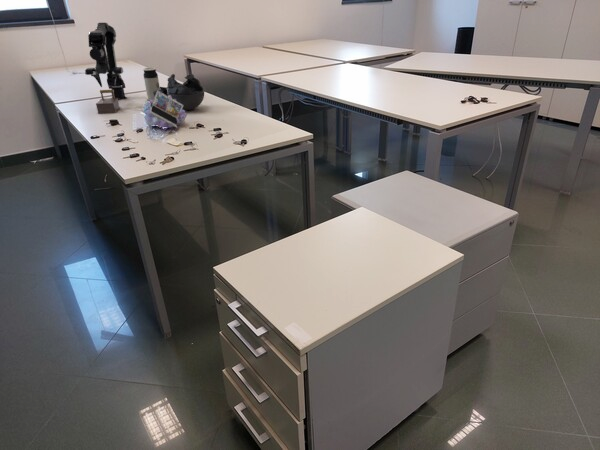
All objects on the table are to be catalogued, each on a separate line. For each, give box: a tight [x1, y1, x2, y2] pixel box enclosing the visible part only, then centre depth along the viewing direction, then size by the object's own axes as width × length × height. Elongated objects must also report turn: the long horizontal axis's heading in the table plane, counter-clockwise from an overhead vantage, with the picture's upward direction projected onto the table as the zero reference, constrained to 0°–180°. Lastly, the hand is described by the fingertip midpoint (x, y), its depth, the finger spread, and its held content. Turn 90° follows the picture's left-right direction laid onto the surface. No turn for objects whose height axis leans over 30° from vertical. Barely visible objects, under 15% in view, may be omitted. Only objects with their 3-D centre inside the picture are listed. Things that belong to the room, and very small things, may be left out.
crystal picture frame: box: [142, 90, 187, 131], centre depth 204 cm, size 20×22×18 cm
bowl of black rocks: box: [166, 73, 205, 111], centre depth 230 cm, size 20×20×19 cm
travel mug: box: [142, 67, 161, 101], centre depth 250 cm, size 8×8×18 cm
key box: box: [95, 99, 120, 115], centre depth 231 cm, size 11×9×5 cm
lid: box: [95, 89, 118, 105], centre depth 229 cm, size 12×9×6 cm
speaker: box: [153, 86, 168, 97], centre depth 239 cm, size 8×6×10 cm
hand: (108, 86), depth 235 cm, fingers open, 7 cm apart
